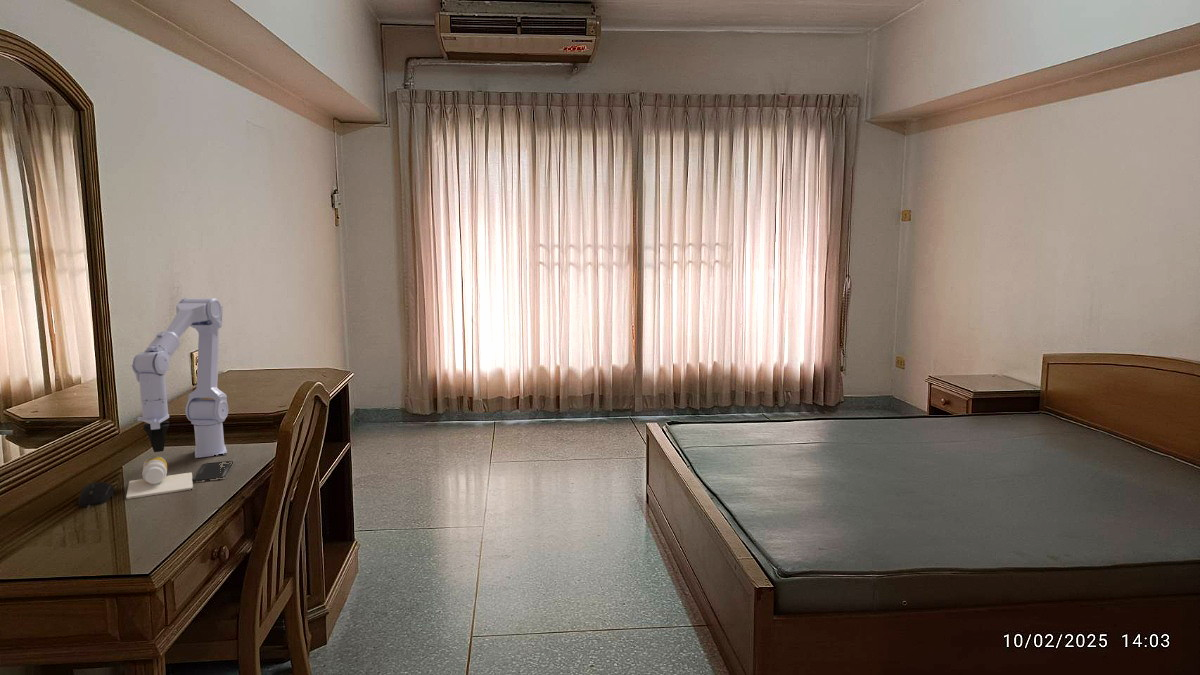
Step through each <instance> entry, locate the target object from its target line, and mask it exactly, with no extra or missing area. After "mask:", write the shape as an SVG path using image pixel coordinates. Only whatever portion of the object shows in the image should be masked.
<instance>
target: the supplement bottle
mask: <svg viewBox="0 0 1200 675" xmlns="http://www.w3.org/2000/svg"><path fill="white" fill-rule="evenodd" d="M167 473H168V463H167V461H166V459H165V458H164V457H161V456H157V455H154V456H150V457H148V458H147V459H146V460H144V462H143V465H142V473H141V476H142V479H144V480H145V481H146V482H148V483H150V484H157V483H159V482H161V481H163V480H164V479H165V477H166V476H168V475H167Z"/></svg>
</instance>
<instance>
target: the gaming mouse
mask: <svg viewBox="0 0 1200 675" xmlns="http://www.w3.org/2000/svg"><path fill="white" fill-rule="evenodd" d="M114 494H115V487H114V486H113V484H112V483H109V482H104V481H94V482H90V483H89V484H86V485H85V486H84V487H83V488H82V490H81V492H80V495H79V498H78V502H77V503H78V504H79V505H80V506H79V505H78V504H77V505H78V506H79V507H84V506H87V507H90V506H91V505H95V506H99V505H102V504H104V502H105V503H106V502H108V500H110V499H111V497H112V496H113V495H114ZM98 504H99V505H98ZM87 507H86V508H87ZM91 507H92V506H91ZM91 507H90V508H91Z"/></svg>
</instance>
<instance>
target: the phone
mask: <svg viewBox="0 0 1200 675" xmlns="http://www.w3.org/2000/svg"><path fill="white" fill-rule="evenodd" d="M222 462H223V461H216V462H215V461H214V462H206V463H202V464H201V465H200V467H199V468H198V470H197V471H196V472H195V474H194V476H192V481H194V482H193V483H197V482H196V481H202V480H205V481H209V479H216V478H223V477H226V475H227V474H228V472H229V470H230V468H231V466H232V464H233V462H234V461H233V460H227V461H224V462H226V463H229V462H232V464H231V463H229V464H223V466H225V467H222V468H221V467H220V465H221V464H220V463H222ZM219 464H220V465H219ZM230 464H231V465H230ZM220 468H221V469H220ZM224 468H225V469H224ZM220 470H221V471H220ZM230 471H231V470H230ZM220 472H221V473H220ZM229 473H230V472H229ZM228 475H229V474H228Z"/></svg>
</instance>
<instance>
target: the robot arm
mask: <svg viewBox="0 0 1200 675" xmlns="http://www.w3.org/2000/svg"><path fill="white" fill-rule="evenodd" d="M175 306H176V307H175V309H176V310H175V311H176V314H175V316H174V318H173V319H172V320H171V322H170V324H169V326H168V327H167V328H166V330H164V331H160V332H157V334H156V335H155V337H154V339H153V340H152V341H151V342H150V344H149V345H148V346H147V347H146V349H145V350H144V351H142V352H139V353H137V354H136V355H135V356H134V357H133V361H132V365H131V368H132V371H133V372H134V374H135V376H136V381H137V382H138V383H139V393H140V402H141V403H140V404H141V413H142V415H141V416H138V417H137V422H144V423H146V424H144V425H143V430H144V431H145V433H146V435H147V436H148V438H149V441H150V444H151V447H152V451H153V452H154V453H160V452H164V449H165V443H166V441H165V440H166V433H167V432H168V428H169V426H170V425H169V424H170V421H169V420H168V419H169V418H170V414H169V407H168V395H167V384H166V375H165V374H166V373H167V372H168V371H169V369H170V362H171V361H172V358H171V357H172V356H173V354H174V353H175V352H176V350H177V349H178V348H179V346H180V344H181V342H180V338H181V337H182V335H183V334H184V333H185V332H186V331H187V330H188V329H189V328H190V327H191V328H193V329H195V330H196V331H197V332H198V344H197V368H196V369H197V373H196V374H197V375H196V389H194V390H192V392H190V393H189V394H188V396H187V397H188V398H187V403H186V405H185V411H184V412H185V416H186V419H188V421H190V424H191V425H193V429H194V439H195V440H194V441H195V448H194V458H195V459H198V458H207V457H214V455H216V456H219V455H218V454H223V455H225V454H224V453H227V454H228V451H227V447H226V444H225V439H224V438H225V437H224V425H223V422H225V421H226V418H227V417H228V416H229V403H228V400H227V398H228V396H227V394H226V393H224V391H222V390H220V389H219V388H218V380H219V379H218V378H219V377H218V376H219V352H220V349H219V348H220V328H222V326H223V306H222V304H221V302H220V301H219V300H218V298H216V297H211V298H205V297H203V298H187V297H183V298H181V299H180V300H179V302H178V303H177V304H176V305H175ZM205 398H206V399H205ZM208 398H209V399H208Z"/></svg>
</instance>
